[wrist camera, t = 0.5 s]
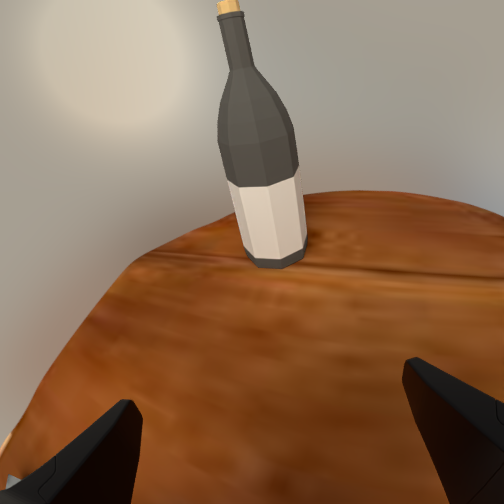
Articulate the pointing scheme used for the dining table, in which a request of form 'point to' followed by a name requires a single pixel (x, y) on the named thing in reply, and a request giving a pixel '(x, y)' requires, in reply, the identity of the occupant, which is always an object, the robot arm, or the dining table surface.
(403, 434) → the dining table surface
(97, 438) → the robot arm
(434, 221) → the dining table surface
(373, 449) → the dining table surface
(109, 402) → the dining table surface
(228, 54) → the wine bottle
